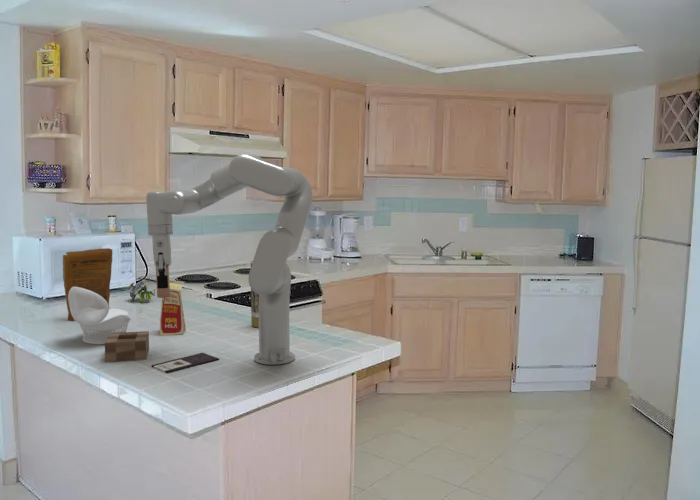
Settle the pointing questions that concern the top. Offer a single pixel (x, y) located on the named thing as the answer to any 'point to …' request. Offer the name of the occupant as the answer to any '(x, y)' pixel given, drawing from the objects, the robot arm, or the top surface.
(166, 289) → the peg
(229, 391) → the top surface
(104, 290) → the pancake mix bag
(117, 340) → the socket block
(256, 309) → the paper tube
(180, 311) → the milk carton
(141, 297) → the passion flower
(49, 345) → the top surface
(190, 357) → the chocolate bar
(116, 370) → the top surface
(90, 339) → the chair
